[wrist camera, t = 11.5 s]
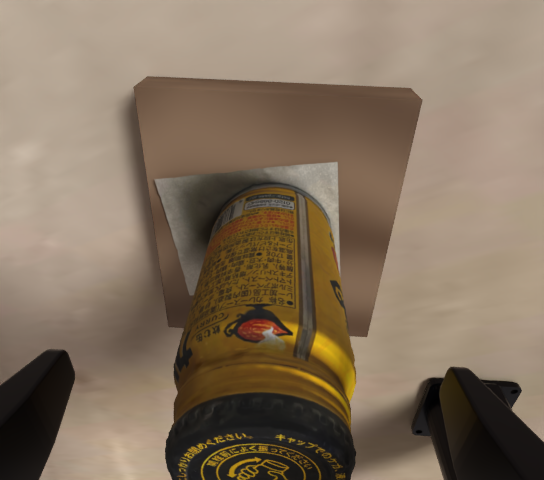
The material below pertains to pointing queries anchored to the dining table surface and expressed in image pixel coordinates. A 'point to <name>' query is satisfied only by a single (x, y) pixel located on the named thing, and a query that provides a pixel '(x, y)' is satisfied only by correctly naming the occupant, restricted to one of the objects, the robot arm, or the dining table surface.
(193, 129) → the stand
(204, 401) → the condiment
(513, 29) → the dining table surface
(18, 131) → the dining table surface
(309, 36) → the dining table surface
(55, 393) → the robot arm
